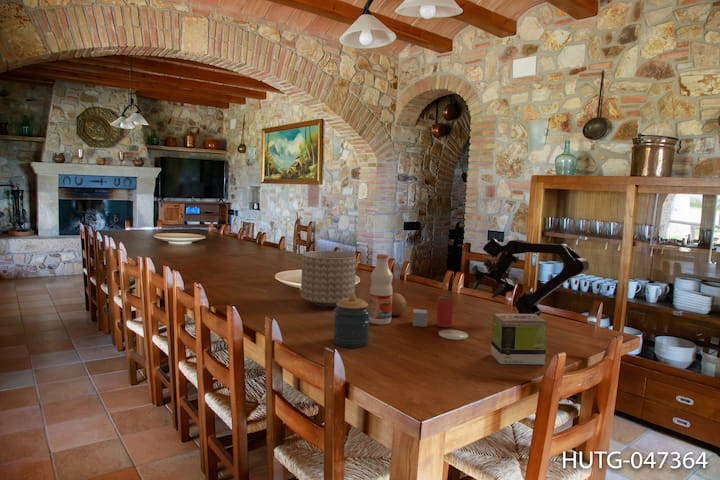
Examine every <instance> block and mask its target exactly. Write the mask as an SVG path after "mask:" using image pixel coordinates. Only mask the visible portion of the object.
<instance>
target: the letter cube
mask: <svg viewBox="0 0 720 480" xmlns="http://www.w3.org/2000/svg"><path fill="white" fill-rule="evenodd" d="M427 324H428V310H427V309H416V308H413V310H412V327H423V328H424V327H426V328H428V327H427V326H428V325H427Z"/></svg>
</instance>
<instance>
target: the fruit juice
mask: <svg viewBox="0 0 720 480" xmlns="http://www.w3.org/2000/svg"><path fill="white" fill-rule="evenodd" d="M389 257H390V256H389V255H388V254H376V264H375V267H374V269H373V270H372V272H371V274H370V280H371V284H370V287H369V303H368V309H369V310H370V313H369V319H370V322H369V323H370V324H374V325H378V326H379V325H388V324H391V322H392V316H393V315H392V294H393V293H394V292H393V289H394V288H393V286H392V282H393V279H394V277H393V276H394V275H393V272H392V271H391V269H390V266H389V261H388V260H389Z"/></svg>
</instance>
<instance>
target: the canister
mask: <svg viewBox="0 0 720 480" xmlns="http://www.w3.org/2000/svg"><path fill="white" fill-rule="evenodd" d="M336 305H337V307H333V312H334V317H333V320H332V321H333V330H332V331H333V334H332V342H333V344H334V345H336V346H338V347H341V348H347V349H358V348H364V347H366V346H367V345H368V344H369V341H370V323H371V322H370V319H369V313H370V310H369V303H368V302H366V300H364V299H361V298H359V297H358V298H357V296H356V293H355V294H350V295H349V298H344V299H341V300H340V301H338V302H337V303H336Z"/></svg>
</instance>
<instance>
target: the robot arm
mask: <svg viewBox="0 0 720 480" xmlns="http://www.w3.org/2000/svg"><path fill="white" fill-rule="evenodd" d="M482 250H483V252H484V253H486V254H487V255H489V256H490V257H491V258H492V259H496V258H497V261H494V262H492V260H491V259H489V258H485V260H484V262H483V266H485V269H487V272H486V271H485V269H484V267H482V266H480V265H477V264H476V265H473V266H472V268H471V272H472V274H473V276H474V278H475V279H474V284H473V288H472V289H473V291H475V290H476V289H477V288H478V287H479V286H480V284H481V283H482V281H483V279H484V278H486V279H488V280H491V281H493V282H496V283H498V284H499V285H498V287H497V288H496V289H495V290H494V292H493V293H492V296H491V298H492V299H495V298H496V297H498V296H500V295H502V294H505V293H514V290H515V288H516V287H515V284H514V281H513V280H511V279H509V278H507V277H504V276H505V275H508V273H509V272H508V271H509V269H510V268H511V266H512V265H513V264H520V263H521V261H520V257H519V256H515V255H518V254H527V253H533V254H534V253H535V254H536V253H538V254H554V255H555V254H556V255H558V257H560V259H561V261H562V262H563V263H564V266H563V268H562V269H561V271H560V272H559V273H557V274H556V275H554V277H551V279H549V280H548V281H547V282H545V283H544V284H543V285H542V286H540V287H539V288H537V289H536V290H535V291H534V292H533V291H532V290H529V291H528V292H527V291H526V292H524V293H523V294H522V295H521V296H520V297H517V301H515V309H516V311H518V314H536V315H537V316H539V317H540V315H541V313H542V310H541V309H540V308H539V307H538V305H539V304H540V303H541V302H542V300H543V299H545V298H546V297H547V296H548V295H550V294H552V292H554V291H555V290H557V289H559V287H561V286H562V285H563V284H565V283H566V282H568V281H569V280H570V279H572V278H576V277H577V276H579V275H581V274H583V273H586V272H587V271H589V269H590V265H589V264H590V263H589V262H588V260H587V259H586V258H584V257H582V256H580V255H579V254H578V253H577V252H576V251H574V250H573V249H572V248H571V247H570V246H569V245H568V244H567V243H546V242H545V243H542V242H541V243H540V242H538V243H537V242H530V241H527V240H523V239H512V240H508V241H507V242H506V244H502V243H501V242H499V241H498V240H497V239H496V238H495V237H494V238H491V239H490V240H489V241H488V242H486V244H485V245H484V246H483V248H482ZM503 277H504V278H503Z"/></svg>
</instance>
